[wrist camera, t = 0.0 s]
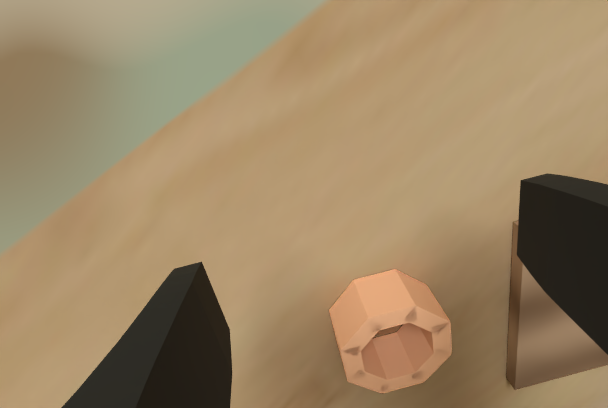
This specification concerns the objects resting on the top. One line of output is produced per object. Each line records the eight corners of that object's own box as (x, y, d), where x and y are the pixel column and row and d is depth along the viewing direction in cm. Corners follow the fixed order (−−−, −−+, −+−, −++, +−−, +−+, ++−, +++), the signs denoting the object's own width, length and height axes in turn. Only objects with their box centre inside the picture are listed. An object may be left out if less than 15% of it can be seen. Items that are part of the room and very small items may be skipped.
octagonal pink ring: (430, 334, 25) (453, 374, 22) (340, 358, 25) (352, 401, 22) (424, 261, 22) (449, 296, 20) (323, 287, 22) (334, 327, 20)
